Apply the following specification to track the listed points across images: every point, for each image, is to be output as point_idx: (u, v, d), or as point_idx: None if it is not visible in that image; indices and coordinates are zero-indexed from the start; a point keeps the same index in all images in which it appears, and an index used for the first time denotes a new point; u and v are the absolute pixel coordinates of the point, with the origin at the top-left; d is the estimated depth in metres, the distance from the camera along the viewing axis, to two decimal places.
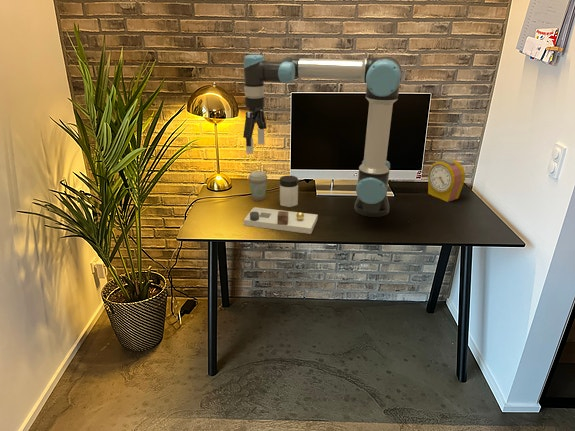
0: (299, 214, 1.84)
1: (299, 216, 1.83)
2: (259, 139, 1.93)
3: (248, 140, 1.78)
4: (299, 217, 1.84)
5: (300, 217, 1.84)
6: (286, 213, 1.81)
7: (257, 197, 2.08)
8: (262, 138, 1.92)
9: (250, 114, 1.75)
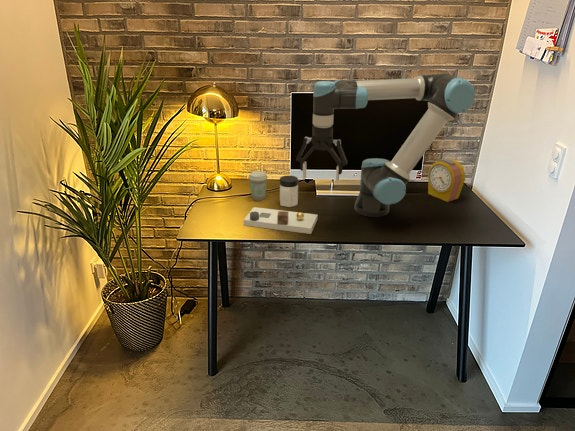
0: (299, 214, 1.84)
1: (299, 216, 1.83)
2: None
3: None
4: (299, 217, 1.84)
5: (300, 217, 1.84)
6: (286, 213, 1.81)
7: (257, 197, 2.08)
8: (336, 175, 1.73)
9: None
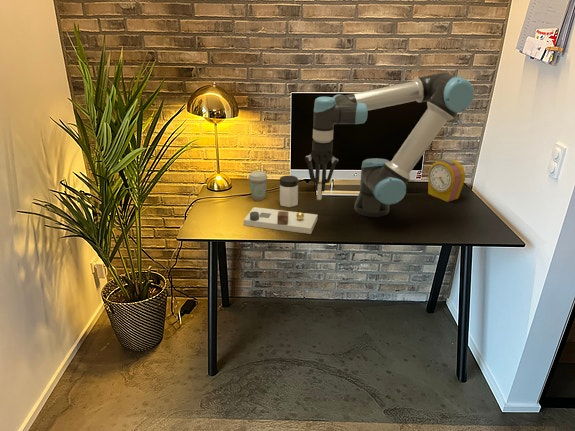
0: (299, 214, 1.84)
1: (299, 216, 1.83)
2: None
3: None
4: (299, 217, 1.84)
5: (300, 217, 1.84)
6: (286, 213, 1.81)
7: (257, 197, 2.08)
8: None
9: None
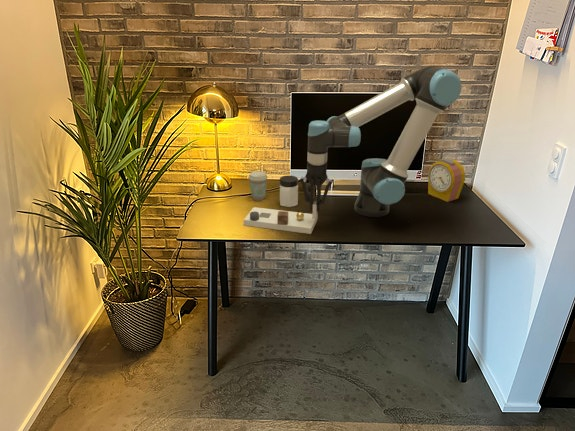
0: (299, 214, 1.84)
1: (299, 216, 1.83)
2: None
3: None
4: (299, 217, 1.84)
5: (300, 217, 1.84)
6: (286, 213, 1.81)
7: (257, 197, 2.08)
8: None
9: None
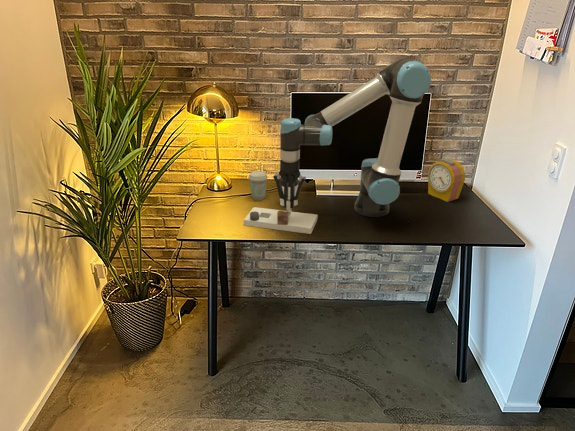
0: None
1: None
2: None
3: None
4: None
5: None
6: (286, 213, 1.81)
7: (257, 197, 2.08)
8: None
9: None
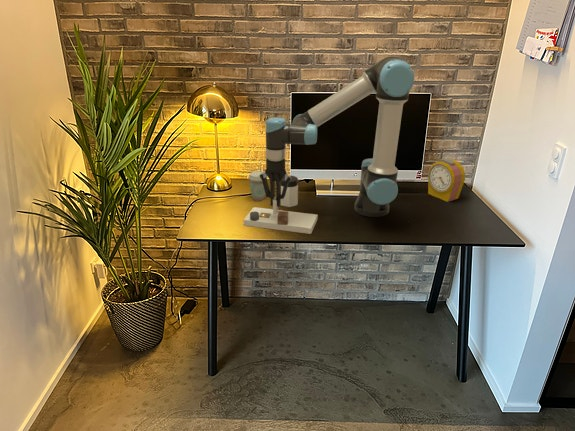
0: None
1: None
2: None
3: None
4: None
5: None
6: (286, 213, 1.81)
7: (257, 197, 2.08)
8: None
9: None
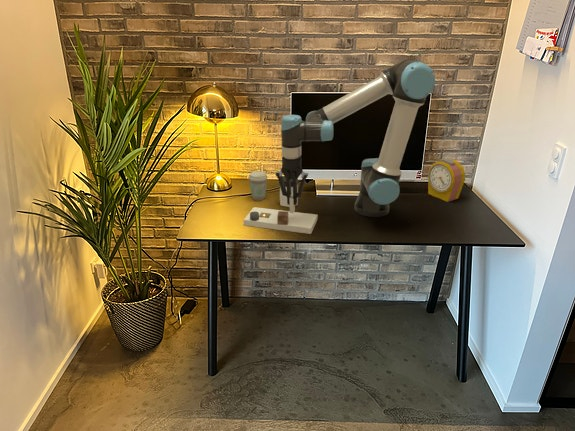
0: None
1: None
2: None
3: None
4: None
5: None
6: (286, 213, 1.81)
7: (257, 197, 2.08)
8: None
9: None
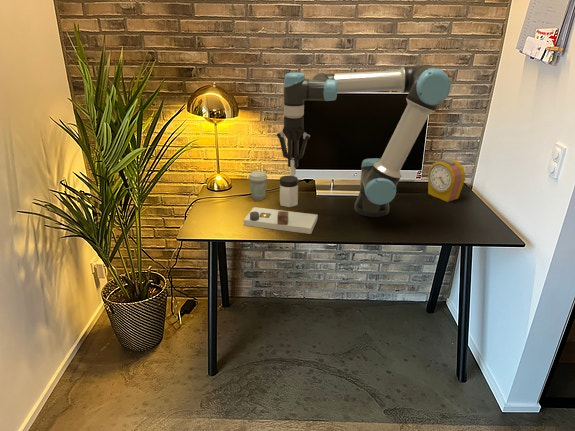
0: None
1: None
2: None
3: None
4: None
5: None
6: (286, 213, 1.81)
7: (257, 197, 2.08)
8: None
9: None
